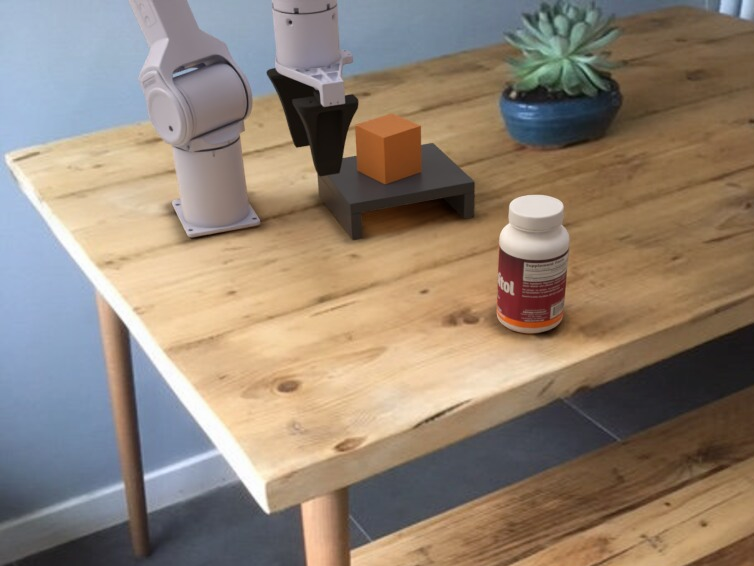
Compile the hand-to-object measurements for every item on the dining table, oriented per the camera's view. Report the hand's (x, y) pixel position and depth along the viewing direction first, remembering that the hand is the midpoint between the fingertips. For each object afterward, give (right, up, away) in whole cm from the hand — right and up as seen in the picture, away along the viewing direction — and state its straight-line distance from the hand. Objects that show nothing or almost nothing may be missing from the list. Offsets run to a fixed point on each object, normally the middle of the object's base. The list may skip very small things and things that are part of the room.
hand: (316, 159), depth 100 cm
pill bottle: (+20, -16, -3) cm, 26 cm away
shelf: (+7, 0, +16) cm, 18 cm away
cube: (+7, +3, +13) cm, 15 cm away
